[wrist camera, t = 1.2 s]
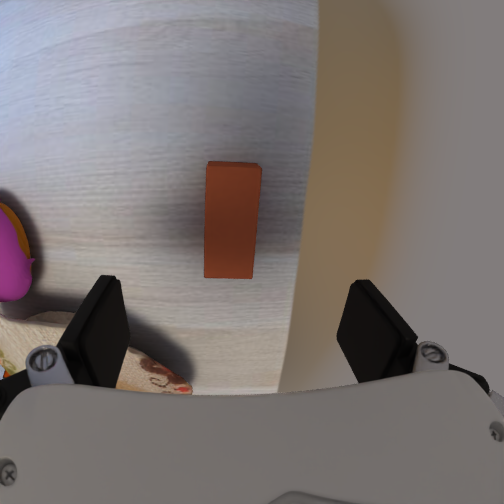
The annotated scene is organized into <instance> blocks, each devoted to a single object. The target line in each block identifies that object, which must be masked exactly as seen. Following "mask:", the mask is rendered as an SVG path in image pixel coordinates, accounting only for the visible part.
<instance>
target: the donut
mask: <svg viewBox="0 0 504 504" xmlns="http://www.w3.org/2000/svg"><path fill="white" fill-rule="evenodd" d="M0 201H1V199H0ZM33 261H35V258H30V249H29V244H28V240H27V237H26V234H25V231H24V229H23V226H22V224H21V222H20V220H19V219H18V217H17V216H16V214H15V213H14V212H13V211H12V210H11V209H10V208H9V207H8V206H6V205H5V204H3V203H1V202H0V302H10V301H16V300H18V299H20V298H22V297H23V296H25V294H26V293H27V292H28V290H29V287H30V285H31V283H32V276H31V264H32V262H33Z"/></svg>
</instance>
